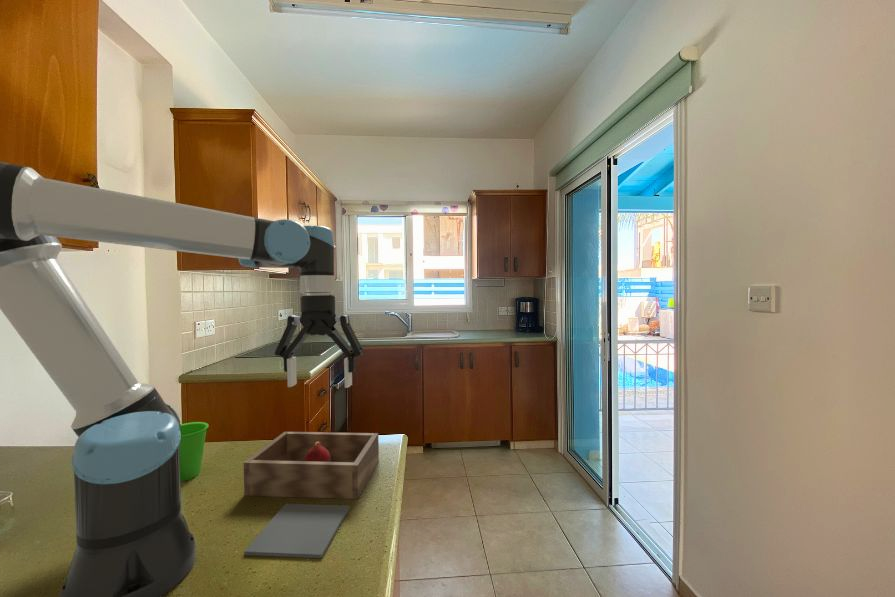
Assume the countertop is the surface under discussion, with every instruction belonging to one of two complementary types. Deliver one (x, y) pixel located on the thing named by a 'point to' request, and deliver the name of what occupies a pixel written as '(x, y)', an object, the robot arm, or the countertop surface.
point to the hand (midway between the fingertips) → (320, 386)
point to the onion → (318, 454)
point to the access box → (312, 466)
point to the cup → (191, 448)
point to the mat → (299, 531)
